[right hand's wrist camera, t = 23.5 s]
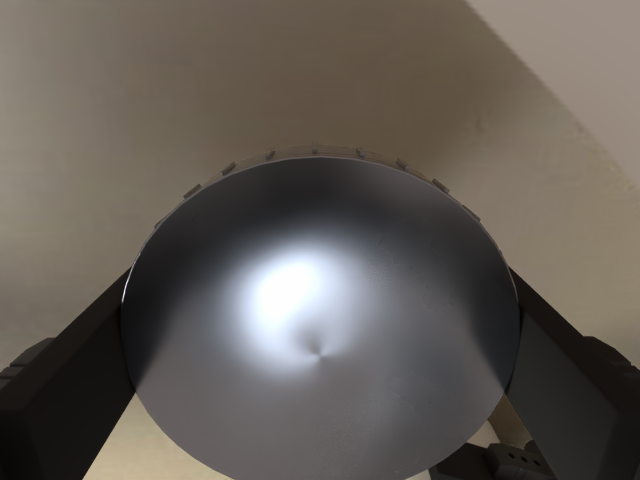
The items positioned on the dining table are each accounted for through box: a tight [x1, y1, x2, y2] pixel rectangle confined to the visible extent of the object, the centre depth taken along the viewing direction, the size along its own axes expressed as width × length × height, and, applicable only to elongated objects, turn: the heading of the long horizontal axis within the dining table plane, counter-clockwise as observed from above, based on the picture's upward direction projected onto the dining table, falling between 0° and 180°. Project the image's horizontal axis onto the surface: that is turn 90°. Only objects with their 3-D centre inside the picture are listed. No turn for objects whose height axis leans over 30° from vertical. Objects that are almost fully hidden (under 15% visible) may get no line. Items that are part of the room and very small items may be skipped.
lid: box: [120, 143, 520, 480], centre depth 11 cm, size 10×10×2 cm
